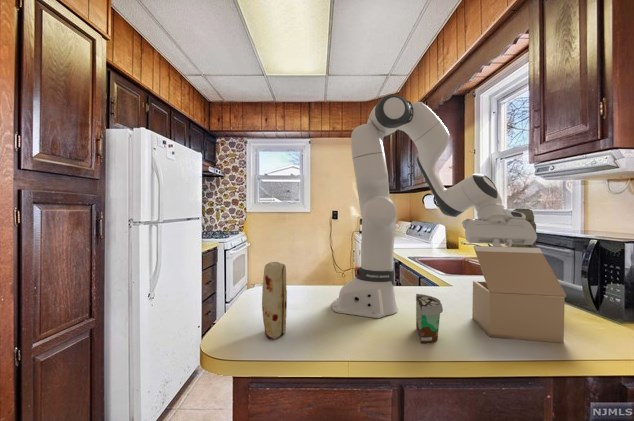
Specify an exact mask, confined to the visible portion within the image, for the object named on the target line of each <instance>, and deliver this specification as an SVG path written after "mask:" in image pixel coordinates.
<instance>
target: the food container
mask: <svg viewBox="0 0 634 421" xmlns="http://www.w3.org/2000/svg"><path fill="white" fill-rule="evenodd" d="M415 301H416V304H415V307H416V308H415V312H416V313H415V323H416V324H415V326H416V327H415V328H416V329H415V330H416V333H417V336H418V339H419V342H420V344H421V345H422V344H424V345H426V344H434V343H436V342H437V341H438V340H439V339H438V338H439V327H440V317H441V313H443V311H444V308H443V304H442V303H441V300H440V299H439V298H436V297H434V296H431V295H427V294H420V293H416V295H415Z"/></svg>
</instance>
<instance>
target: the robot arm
mask: <svg viewBox="0 0 634 421" xmlns="http://www.w3.org/2000/svg"><path fill="white" fill-rule="evenodd" d="M366 120H367V121H366V122H365V123H364V124H361V125H358V126H356V127H355V128H354V129H353V130H352V132H351V136H350V137H351V138H350V142H351V144H350V145H351V146H350V148H351V156H352V163H353V170H354V177H355V182H356V183H355V184H356V188H357V189H356V190H357V196H358V197H357V198H358V202H359V203H358V204H359V209H360V210H359V211H360V215H361V242H360V266H358V265H356V266H354V269H353V270H354V278H352V279H351V280H350V281H348V282H347V283H345V284H344V285H343V286H342V287H341V288H340V290H339V294H338V298H335V299H334V300H333V301H332V303H331V305H332V306H331V309H332V310H333V311H334V312H335V313H339V314H345V315H346V314H348V315H354V316H361V317H367V318H374V319H375V318H376V319H380V318H382V317H385V316H389V315H390V316H391V315H393V314H396V313H397V312H398V310H399V308H398V305H397V300H396V295H395V283H396V281H395V280H396V271H395V268H394V253H395V252H394V250H395V249H394V245H395V239H396V238H395V237H396V227H397V211H398V210H397V207H396V204H395V202H394V201H393V200H392V199H391V198H390V189H389V188H390V184H389V172H388V167H387V159H386V154H385V147H384V139H386V138H387V137H390V135H392V134H393V133H395V132H397V131H398V130H399V131H401V132H404V133H406V135H408V137H409V138H410V140H412V142H413V143H414V145H415V148H417V152H418V153H417V154H418V155H417V157H416V163H417V166H418V168H419V170H420V172H421V174H422V176H423V178H424V180H425V182H426V183H427V185H428V187H429V189H430V191H431V193H432V195H433V197H434V200H435V202H436V204H437V207H438V208H439V210H440V211H441V212H442V214H443V215H444V216H447V217H453V218H455V217H458V216H459V215H461V214H463V213H465V211H468V210H469V209H471V208H473V207H474V210H475V211H476V216H477V218H466V219H465V220H463V221H462V222H461V223H462V228H463V229H464V230H465V231H464V233H465V241H467V243H469V244H492V246H494V247H503V246H502V245H504V247H511V245H512V244H520V245H532V244H533V243H534V242H535V240H536V241H537V238H538V235H537V231H536V232H535V230H534V229H533V227H532V225H531V224H530V223H529V222H528V221H526V220H525V218H526V216H525V214H523V213H519V212H515V211H513V210H511V209H508V208H506V207H505V206H504V205H503V200H502V197H501V195H500V193H499V192H498V188H497V187H496V185H495V183H494V182H493V180H492V179H491V178H490V177H488V176H487V175H484V174H482V173H473V174H471V175H469V176H467V177H466V178H464V179H462V180H461V181H458V183H457V184H454V185H453V186H451V187H449V188H446V187H445V186H444V184H443V182H442V180H441V178H440V176H439V174H438V172H437V170H436V165H437V162H438V161H439V158H441V156H442V155H443V153H444V152H445V151H446V149H447V146H448V144H449V142H450V132H449V130H448V128H447V127H446V125H445V124H444V123H443V122H442V120H441V119H440V117H439V116H438V115H437V114H436V113H435V112H434V111H433V110H432V109H431V108H430V107H429V106H428V105H426V104H425V103H424V102H422V101H415V102H411V101H410V100H407V99H405V98H404V97H403V96H401V95H399V94H394V93H393V94H387V95H385V96H383V97H382V98H381V99H380V100H378V102H377V103H376V104H375V106H374V107H373V109H371V111H370V114H369V116H368V117H367V119H366Z"/></svg>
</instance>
